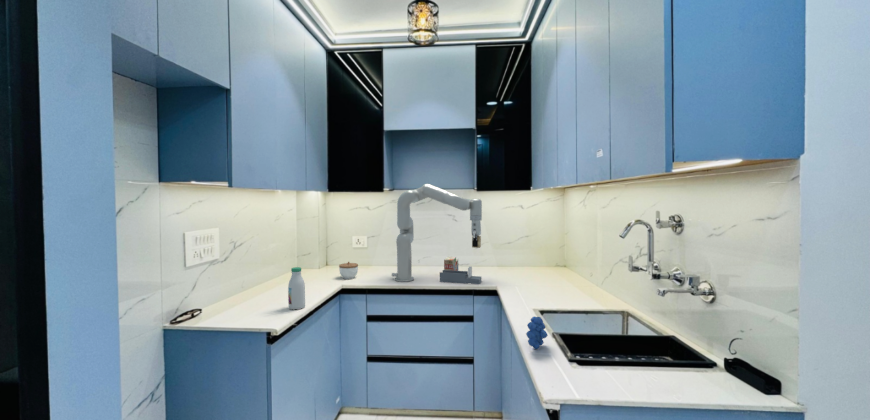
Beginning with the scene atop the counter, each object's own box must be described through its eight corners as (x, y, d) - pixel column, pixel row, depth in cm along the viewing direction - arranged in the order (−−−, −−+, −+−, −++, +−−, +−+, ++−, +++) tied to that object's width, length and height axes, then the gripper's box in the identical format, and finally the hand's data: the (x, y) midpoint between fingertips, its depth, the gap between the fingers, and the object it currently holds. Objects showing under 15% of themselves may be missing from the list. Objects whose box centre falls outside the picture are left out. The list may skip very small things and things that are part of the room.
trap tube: (439, 281, 229) (439, 272, 229) (442, 278, 238) (442, 269, 237) (479, 284, 222) (479, 274, 222) (481, 281, 231) (481, 271, 230)
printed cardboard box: (450, 270, 264) (450, 254, 263) (458, 271, 262) (458, 254, 262) (444, 277, 243) (443, 259, 243) (452, 277, 241) (452, 259, 241)
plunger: (455, 277, 228) (455, 267, 227) (457, 275, 233) (457, 265, 233) (470, 277, 225) (470, 268, 225) (471, 275, 231) (471, 266, 231)
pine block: (472, 247, 228) (472, 236, 227) (473, 246, 233) (473, 235, 232) (479, 247, 226) (479, 236, 226) (480, 246, 231) (480, 236, 231)
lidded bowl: (360, 275, 248) (359, 260, 247) (355, 280, 235) (355, 263, 235) (342, 275, 248) (342, 260, 247) (336, 280, 235) (336, 263, 235)
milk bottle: (307, 305, 180) (306, 266, 179) (301, 310, 172) (301, 269, 171) (292, 305, 180) (291, 266, 179) (285, 310, 172) (285, 269, 171)
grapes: (539, 357, 120) (540, 322, 120) (521, 351, 125) (522, 318, 124) (554, 346, 129) (554, 314, 128) (537, 341, 133) (537, 310, 133)
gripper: (479, 218, 220) (479, 247, 220) (483, 217, 236) (483, 244, 237) (467, 218, 222) (467, 247, 222) (472, 217, 238) (472, 244, 239)
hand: (475, 245), depth 230 cm, fingers closed on pine block, 5 cm apart
